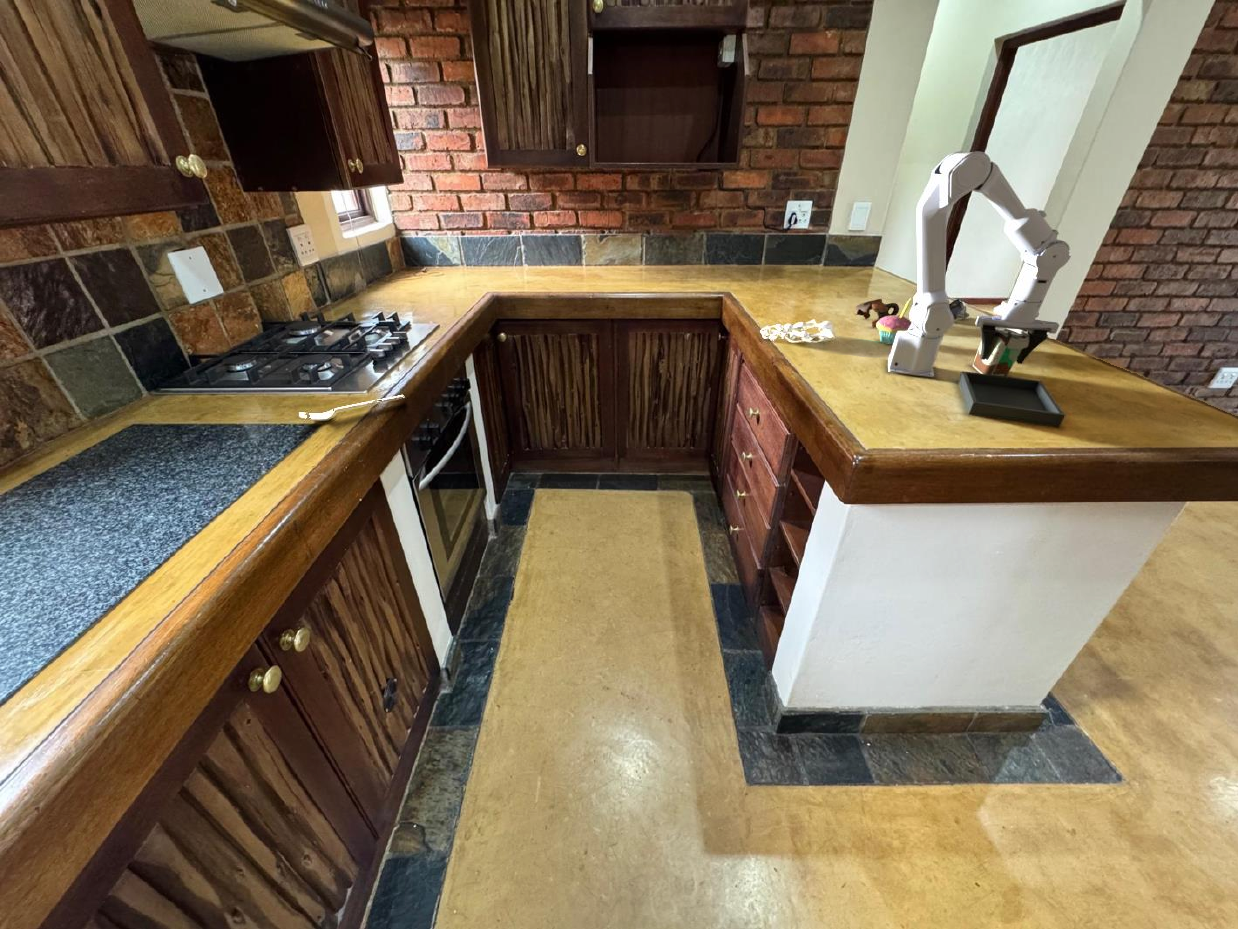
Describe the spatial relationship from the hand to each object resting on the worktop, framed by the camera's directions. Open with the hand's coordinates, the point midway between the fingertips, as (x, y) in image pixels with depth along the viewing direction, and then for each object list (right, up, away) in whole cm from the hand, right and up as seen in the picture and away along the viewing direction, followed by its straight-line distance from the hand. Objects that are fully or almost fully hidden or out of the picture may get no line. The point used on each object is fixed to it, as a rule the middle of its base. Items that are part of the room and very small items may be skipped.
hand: (1000, 360), depth 111 cm
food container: (0, -3, +2) cm, 3 cm away
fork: (-143, -13, -8) cm, 144 cm away
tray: (-8, -11, -11) cm, 17 cm away
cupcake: (-13, +10, +22) cm, 27 cm away
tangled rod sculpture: (-37, +11, +25) cm, 46 cm away
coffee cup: (+12, +6, +15) cm, 20 cm away
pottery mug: (-10, +19, +36) cm, 42 cm away
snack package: (+14, +21, +39) cm, 46 cm away
